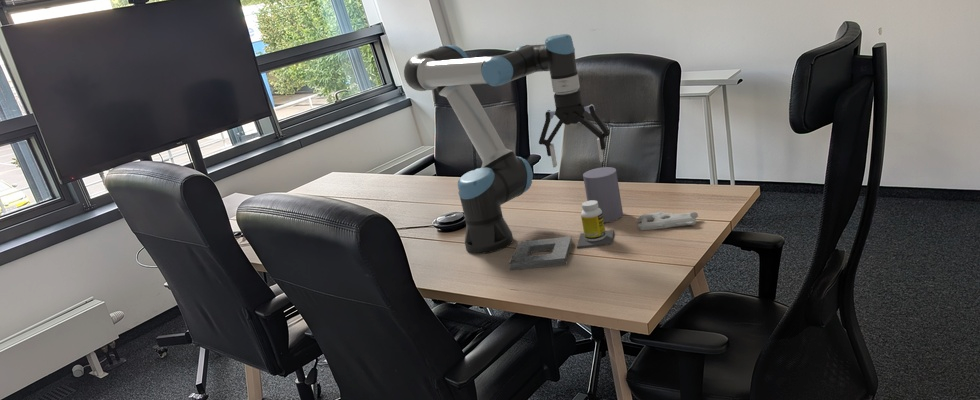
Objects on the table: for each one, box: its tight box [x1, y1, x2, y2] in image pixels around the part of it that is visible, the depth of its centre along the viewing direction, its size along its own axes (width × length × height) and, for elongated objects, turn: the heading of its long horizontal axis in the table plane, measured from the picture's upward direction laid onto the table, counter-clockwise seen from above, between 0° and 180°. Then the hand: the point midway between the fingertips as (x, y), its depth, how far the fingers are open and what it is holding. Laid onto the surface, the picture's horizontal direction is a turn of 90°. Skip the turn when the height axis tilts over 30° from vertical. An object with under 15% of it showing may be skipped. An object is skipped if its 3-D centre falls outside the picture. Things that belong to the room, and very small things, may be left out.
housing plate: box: [508, 235, 573, 271], centre depth 216 cm, size 16×16×2 cm
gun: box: [636, 211, 699, 231], centre depth 220 cm, size 18×4×10 cm
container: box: [582, 166, 624, 224], centre depth 233 cm, size 10×10×15 cm
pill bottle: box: [580, 200, 606, 242], centre depth 218 cm, size 6×6×11 cm
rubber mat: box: [576, 229, 615, 249], centre depth 219 cm, size 10×10×1 cm
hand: (578, 163), depth 215 cm, fingers open, 13 cm apart
